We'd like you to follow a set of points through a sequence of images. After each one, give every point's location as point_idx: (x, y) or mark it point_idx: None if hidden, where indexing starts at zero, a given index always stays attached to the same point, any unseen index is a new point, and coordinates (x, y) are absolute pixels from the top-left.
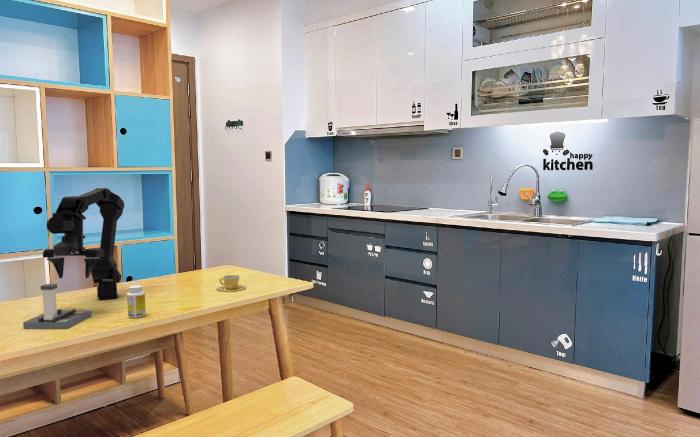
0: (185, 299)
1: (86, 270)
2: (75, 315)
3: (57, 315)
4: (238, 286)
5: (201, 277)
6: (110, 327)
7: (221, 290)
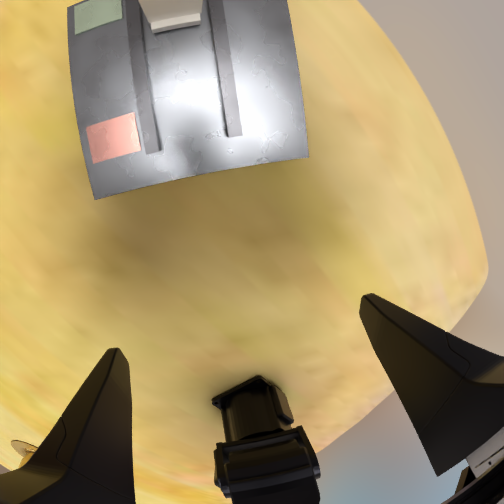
0: (24, 404)
1: (82, 403)
2: (101, 98)
3: (151, 26)
4: None
5: (167, 499)
6: None
7: (33, 447)
